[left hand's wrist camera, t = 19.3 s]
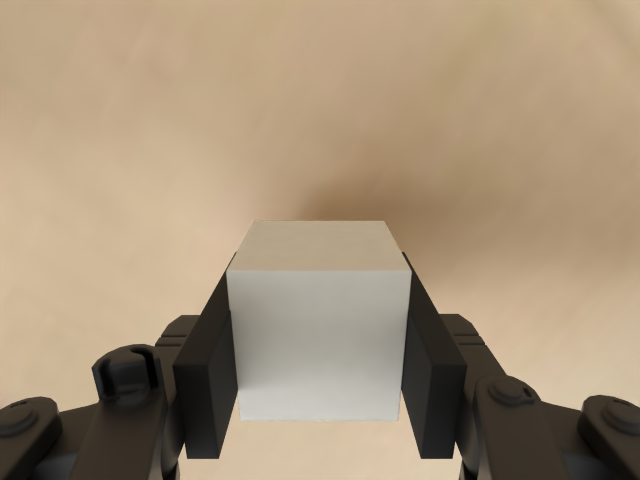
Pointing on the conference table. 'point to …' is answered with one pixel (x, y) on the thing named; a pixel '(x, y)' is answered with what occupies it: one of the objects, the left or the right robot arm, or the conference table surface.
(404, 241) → the conference table surface
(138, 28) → the conference table surface
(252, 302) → the block
